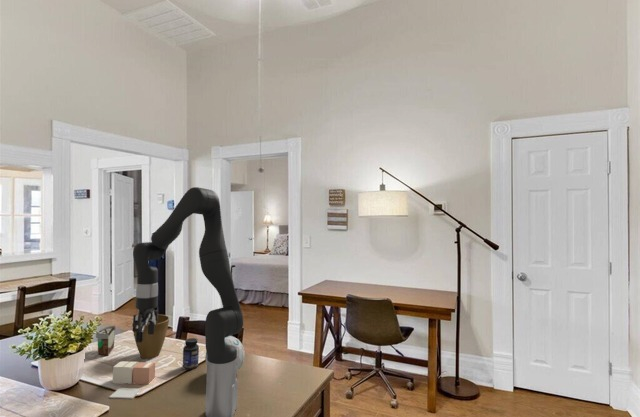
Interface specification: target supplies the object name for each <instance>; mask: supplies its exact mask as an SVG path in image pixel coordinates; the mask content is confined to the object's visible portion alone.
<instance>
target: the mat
mask: <svg viewBox="0 0 640 417" xmlns="http://www.w3.org/2000/svg"><path fill="white" fill-rule="evenodd" d="M141 389H142V388H132V387H129V388H128V387H127V388H126V387H125V388H124V387H119V388H118V389H116V390H115V391H114V392H113V393H112V394H111V395H109V397H108V398H109V399H131V400H132V399H134V398H135V397H137V395H138V394H139V393H140V392H141V391H142V390H141ZM140 390H141V391H140ZM139 391H140V392H139ZM138 392H139V393H138ZM137 393H138V394H137ZM136 394H137V395H136Z"/></svg>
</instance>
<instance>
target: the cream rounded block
mask: <svg viewBox="0 0 640 417" xmlns="http://www.w3.org/2000/svg"><path fill="white" fill-rule="evenodd" d="M138 363H140V361H123V360H122V361H121V360H120V361H119V362H117V363H116V364H115V365H114V366H113V367H112V384H123V383H128V384H127V385H129V384H130V385H131V384H133V367H135V366H136V365H137V364H138Z"/></svg>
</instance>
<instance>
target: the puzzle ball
mask: <svg viewBox="0 0 640 417" xmlns="http://www.w3.org/2000/svg"><path fill="white" fill-rule="evenodd" d="M225 344H228V345H232V346H234V347H236V349H237V367H236V373H237V372H238V371H239V370H240V368H242V365H243V363H244V360H245V357H246V356H245V355H246V354H245V353H246V352H245V348H244V345H243V343H242V342H241V341H240V340H239V339H238V338H236V337H235V336H233V335H231V336H228V337H225ZM205 364H206V366H207V352H205Z"/></svg>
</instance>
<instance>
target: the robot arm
mask: <svg viewBox="0 0 640 417" xmlns="http://www.w3.org/2000/svg"><path fill="white" fill-rule="evenodd" d="M220 202H221V201H220V197H219V195H218V194H217V192H216V191H214V190H212V189H207V188H203V187H198V186H195V187H191V188H189V189H188V190H186V192H185V193H184V195H182V197H181V198H180V201H179V202H178V203H177V204H176V206H175V207H174V208H173V210H172V212H171V213H170V215H169V216H168V217H167V218H166V220H165V221H164V222H163V223H162V224H161V225H160V226H159V227H158V228H157V229H156V230H155V231H154V232H153V233H152V235H151V237H150V240H151V241H148V242H147V241H145V242H139V243H137V244H136V245H135V246H134V248H133V251H132V254H133V255H132V257H133V260H134V264H135V267H136V272H137V276H136V277H137V279H136V280H137V281H136V290H135V309H137V310H138V314H133V318H132V321H133V326H132V332H136V342H142V341H143V330H144V327H145V326H146V325H147V323H148V324H149V325H148V334H154V331H155V324H156V321H158V315H159V306H158V304H159V302H158V301H159V282H158V281H159V269H158V268H157V267H156V266H150V262H149V261H151V262H152V261H157V260H159V259H161V258H162V257H163V256H164V255H165V253H166V251H167V250H168V247H169V246H170V245H171V244H172V243H173V242H174V241H175V240H176V239H177V238H178V237H179V236H180V235H181V232H182V230H183V226H184V225H183V224H184V221H185V220H186V219H187V218H189V217H190V216H191V215H193V214H195V215H202V217H203V222H204V223H203V224H204V233H203V237H202V240H201V242H200V245H199V250H198V257H199V262H200V267H201V268H200V269H201V272H202V274H203V275H204V277H205V278H206V280H207V281H208V282H209V283H210V284H211V285H212V286H213V288H214V289H215V290H216V291H217V294H218V295H219V297H220V301H221V305H222V307H219V308H215V309H212V310H210V311H209V312H208V313H207V314H206V317H205V324H204V326H205V327H204V329H205V333H204V336H205V351H206V352H207V365H206V380H205V381H206V385H205V386H206V387H205V389H206V390H205V416H206V417H234V414H235V412H236V411H235V410H237V408H238V382H239V379H238V378H237V372H236V367H237V349H236V347H234V346H232V345H228V344H225V337H228V336H233V335H236V334H240V332H241V331H242V330H243V327H244V316H243V312H242V308H241V304H240V302H239V298H238V295H237V291H236V288H235V284H234V279H233V275H232V271H231V266H230V265H231V264H230V259H229V253H228V250H227V246H226V241H225V235H224V230H223V229H224V228H223V222H222V212H221V203H220ZM155 316H156V317H155ZM136 325H137V327H136ZM141 326H142V328H141ZM136 342H135V343H136ZM206 352H205V353H206Z"/></svg>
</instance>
